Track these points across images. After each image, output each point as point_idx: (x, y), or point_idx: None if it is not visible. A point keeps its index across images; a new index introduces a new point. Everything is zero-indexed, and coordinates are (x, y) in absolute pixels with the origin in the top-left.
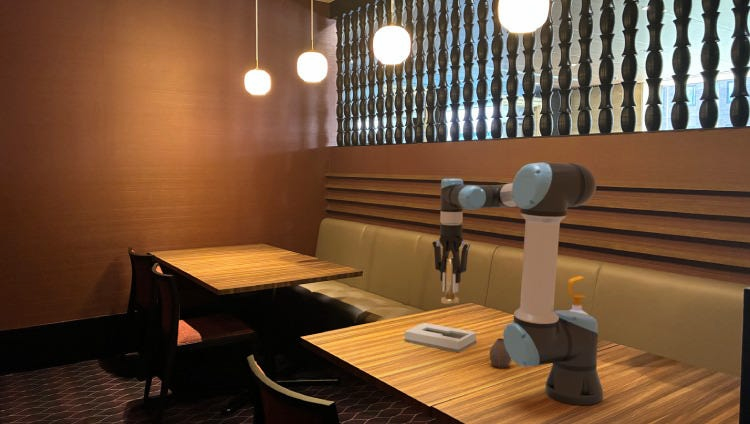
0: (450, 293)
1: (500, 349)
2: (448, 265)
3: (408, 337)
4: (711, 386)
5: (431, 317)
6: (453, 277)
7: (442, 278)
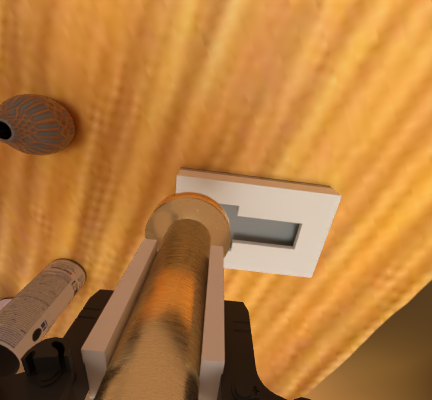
0: (171, 236)
1: (6, 102)
2: None
3: (323, 189)
4: None
5: (316, 348)
6: (112, 317)
7: (231, 318)
